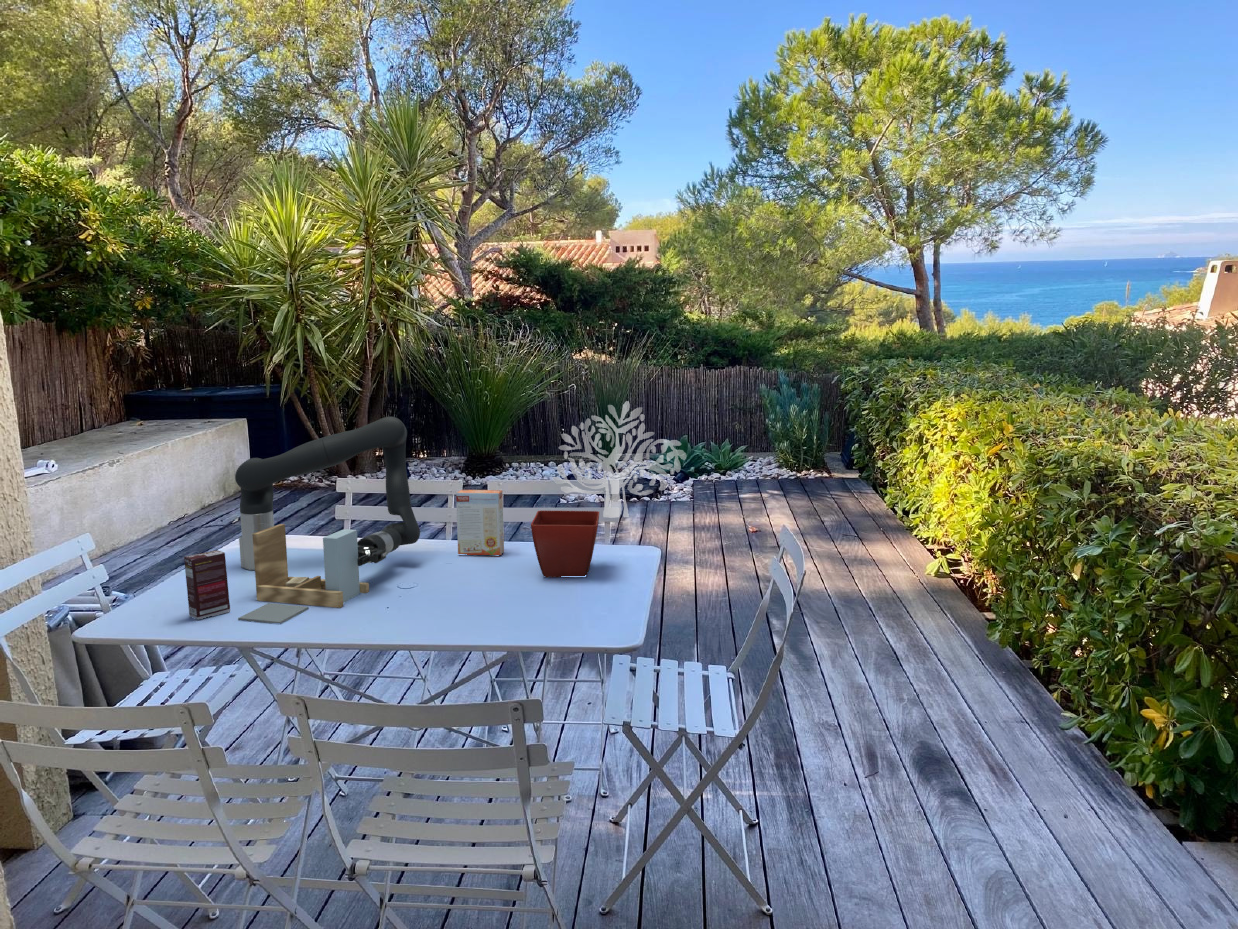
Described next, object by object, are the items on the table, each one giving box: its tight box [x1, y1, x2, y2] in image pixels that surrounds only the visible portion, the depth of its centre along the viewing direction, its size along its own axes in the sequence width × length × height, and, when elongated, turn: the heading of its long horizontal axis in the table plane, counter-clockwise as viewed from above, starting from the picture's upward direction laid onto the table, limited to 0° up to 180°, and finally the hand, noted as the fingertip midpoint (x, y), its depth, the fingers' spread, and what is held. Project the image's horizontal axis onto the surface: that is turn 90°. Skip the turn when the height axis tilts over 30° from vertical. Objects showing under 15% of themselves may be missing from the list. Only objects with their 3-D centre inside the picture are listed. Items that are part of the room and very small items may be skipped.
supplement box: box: [183, 549, 231, 620], centre depth 217 cm, size 9×5×16 cm, turn 141°
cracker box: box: [455, 489, 505, 556], centre depth 275 cm, size 14×6×21 cm, turn 84°
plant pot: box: [530, 510, 600, 578], centre depth 256 cm, size 19×19×17 cm
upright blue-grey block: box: [322, 528, 361, 604], centre depth 230 cm, size 4×10×18 cm, turn 166°
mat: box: [237, 602, 310, 624], centre depth 218 cm, size 12×12×1 cm
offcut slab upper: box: [286, 576, 310, 587], centre depth 235 cm, size 4×6×2 cm, turn 178°
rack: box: [252, 523, 370, 609], centre depth 232 cm, size 26×14×18 cm, turn 76°
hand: (344, 561), depth 231 cm, fingers open, 8 cm apart
